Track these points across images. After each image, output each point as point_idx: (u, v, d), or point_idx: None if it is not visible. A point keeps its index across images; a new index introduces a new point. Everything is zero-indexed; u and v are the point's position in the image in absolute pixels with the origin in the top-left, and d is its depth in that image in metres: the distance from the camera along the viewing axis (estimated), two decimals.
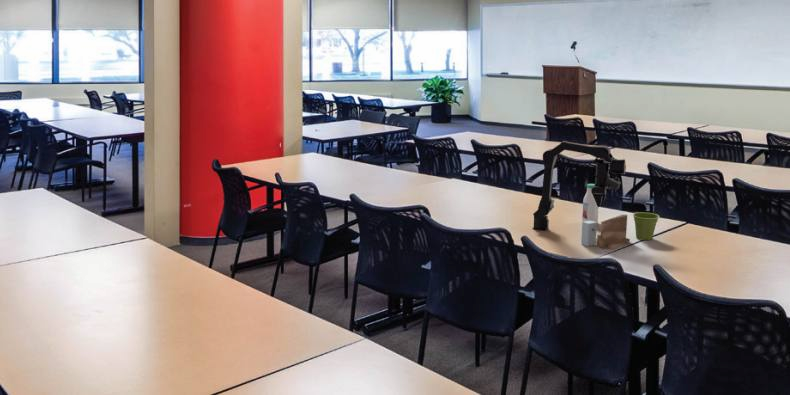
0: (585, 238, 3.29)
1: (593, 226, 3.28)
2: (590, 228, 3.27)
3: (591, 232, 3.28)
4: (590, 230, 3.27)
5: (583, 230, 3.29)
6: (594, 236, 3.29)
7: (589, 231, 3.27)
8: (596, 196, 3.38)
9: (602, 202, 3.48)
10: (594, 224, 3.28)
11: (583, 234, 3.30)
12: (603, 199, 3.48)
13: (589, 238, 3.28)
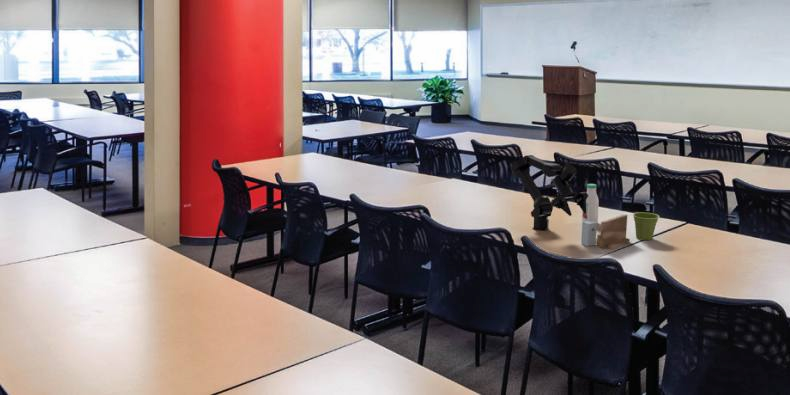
0: (585, 238, 3.29)
1: (593, 226, 3.28)
2: (590, 228, 3.27)
3: (591, 232, 3.28)
4: (590, 230, 3.27)
5: (583, 230, 3.29)
6: (594, 236, 3.29)
7: (589, 231, 3.27)
8: None
9: (570, 215, 3.33)
10: (594, 224, 3.28)
11: (583, 234, 3.30)
12: None
13: (589, 238, 3.28)
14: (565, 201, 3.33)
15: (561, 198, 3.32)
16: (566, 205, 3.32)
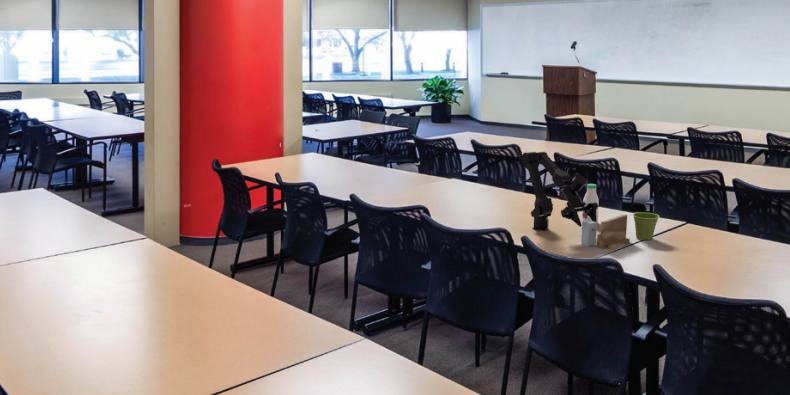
0: (585, 238, 3.29)
1: (593, 226, 3.28)
2: (590, 228, 3.27)
3: (591, 232, 3.28)
4: (590, 230, 3.27)
5: (583, 230, 3.29)
6: (594, 236, 3.29)
7: (589, 231, 3.27)
8: None
9: (580, 225, 3.28)
10: (594, 224, 3.28)
11: (583, 234, 3.30)
12: None
13: (589, 238, 3.28)
14: (575, 212, 3.28)
15: (571, 209, 3.27)
16: (576, 216, 3.27)
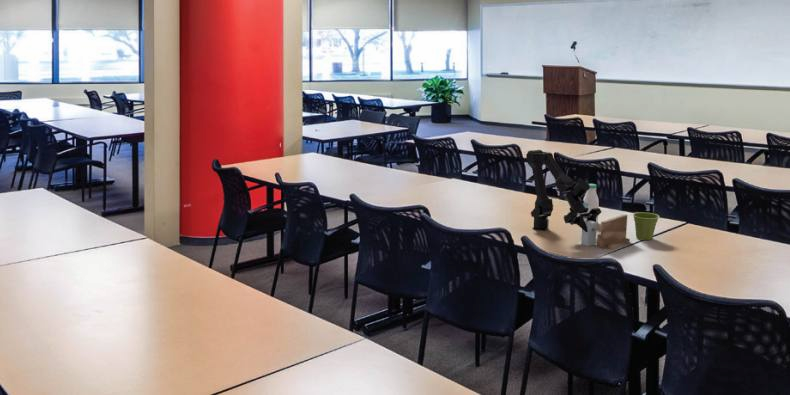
0: (585, 238, 3.29)
1: (593, 226, 3.28)
2: (590, 228, 3.27)
3: (591, 232, 3.28)
4: (590, 230, 3.27)
5: (583, 230, 3.29)
6: (594, 236, 3.29)
7: (589, 231, 3.27)
8: None
9: None
10: (595, 224, 3.28)
11: (583, 234, 3.30)
12: None
13: (589, 238, 3.28)
14: (581, 217, 3.27)
15: (574, 214, 3.26)
16: (582, 221, 3.27)
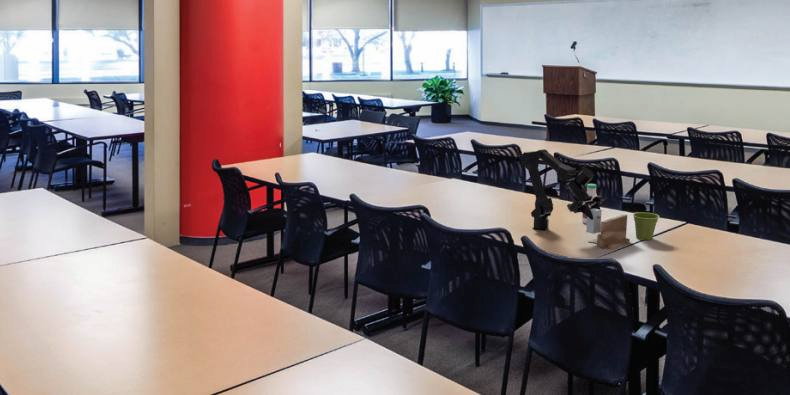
0: (591, 225, 3.30)
1: (598, 214, 3.29)
2: (595, 216, 3.28)
3: (596, 220, 3.29)
4: (595, 218, 3.29)
5: (588, 218, 3.30)
6: (599, 223, 3.31)
7: (594, 219, 3.28)
8: None
9: None
10: (599, 212, 3.30)
11: (588, 222, 3.31)
12: None
13: (595, 226, 3.29)
14: (587, 205, 3.28)
15: (580, 202, 3.27)
16: (588, 209, 3.28)
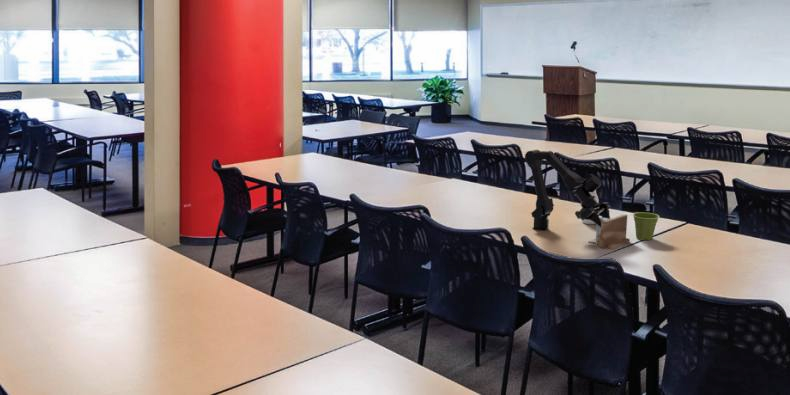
0: None
1: None
2: None
3: None
4: None
5: (598, 227, 3.33)
6: None
7: None
8: None
9: None
10: None
11: (598, 231, 3.33)
12: None
13: None
14: (596, 212, 3.30)
15: (591, 210, 3.28)
16: (597, 216, 3.29)
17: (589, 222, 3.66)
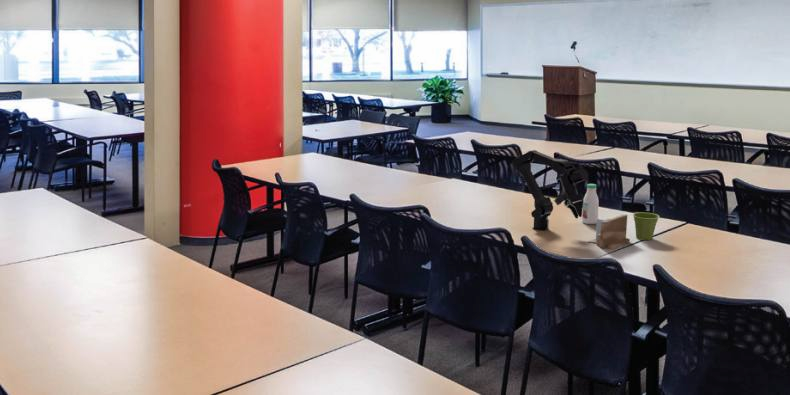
0: None
1: None
2: None
3: None
4: None
5: (598, 227, 3.33)
6: None
7: None
8: None
9: None
10: None
11: (598, 231, 3.33)
12: (578, 213, 3.37)
13: None
14: (582, 202, 3.36)
15: None
16: (582, 206, 3.35)
17: (589, 222, 3.66)
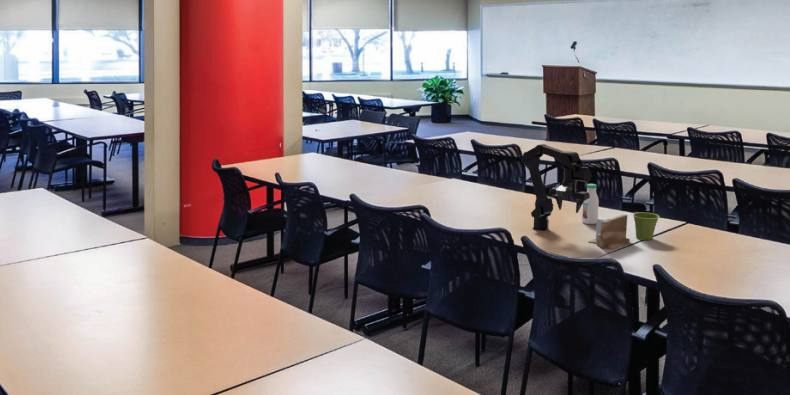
0: None
1: None
2: None
3: None
4: None
5: (598, 227, 3.33)
6: None
7: None
8: None
9: None
10: None
11: (598, 231, 3.33)
12: (576, 209, 3.39)
13: None
14: None
15: None
16: (582, 203, 3.40)
17: (589, 222, 3.66)
